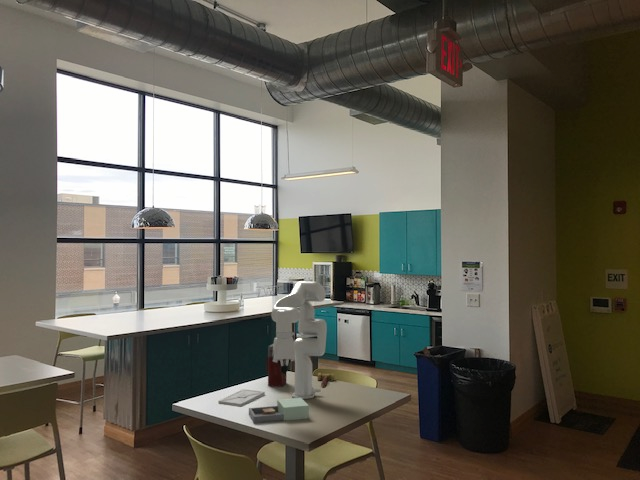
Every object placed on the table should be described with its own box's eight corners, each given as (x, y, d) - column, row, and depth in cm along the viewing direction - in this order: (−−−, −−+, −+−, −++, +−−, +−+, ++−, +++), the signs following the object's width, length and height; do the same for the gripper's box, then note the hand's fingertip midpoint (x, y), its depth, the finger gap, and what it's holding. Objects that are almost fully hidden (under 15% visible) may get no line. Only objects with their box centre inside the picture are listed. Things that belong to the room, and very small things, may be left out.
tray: (277, 412, 254) (277, 405, 254) (283, 420, 240) (283, 414, 240) (248, 414, 249) (248, 408, 249) (253, 423, 236) (253, 416, 236)
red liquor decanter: (268, 382, 314) (268, 335, 315) (286, 383, 312) (286, 336, 313) (264, 385, 305) (264, 337, 306) (282, 386, 303) (282, 338, 304)
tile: (262, 409, 246) (262, 415, 246) (265, 412, 241) (265, 418, 241) (272, 408, 248) (272, 414, 248) (275, 410, 243) (275, 417, 243)
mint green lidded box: (300, 409, 257) (300, 397, 257) (308, 418, 244) (308, 405, 244) (277, 412, 254) (277, 399, 254) (283, 420, 240) (283, 407, 240)
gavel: (331, 383, 300) (313, 382, 301) (331, 390, 300) (314, 390, 301) (334, 372, 321) (318, 372, 322) (334, 380, 321) (318, 379, 322)
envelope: (218, 404, 268) (241, 407, 263) (218, 400, 268) (241, 403, 263) (243, 392, 290) (264, 395, 285) (243, 388, 290) (264, 391, 285)
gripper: (297, 333, 254) (297, 370, 254) (267, 334, 250) (267, 373, 250) (301, 335, 247) (301, 374, 247) (270, 337, 243) (270, 376, 242)
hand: (283, 373), depth 248 cm, fingers closed
